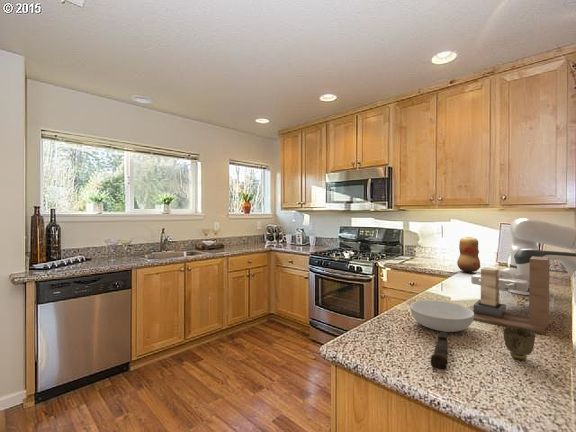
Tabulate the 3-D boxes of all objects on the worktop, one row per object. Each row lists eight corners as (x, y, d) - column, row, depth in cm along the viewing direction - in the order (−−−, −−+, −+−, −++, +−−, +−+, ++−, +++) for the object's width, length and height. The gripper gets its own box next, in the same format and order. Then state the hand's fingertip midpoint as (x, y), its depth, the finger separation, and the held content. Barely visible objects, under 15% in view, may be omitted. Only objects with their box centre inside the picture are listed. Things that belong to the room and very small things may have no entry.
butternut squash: (456, 273, 210) (456, 237, 210) (457, 269, 221) (457, 235, 221) (480, 275, 203) (480, 238, 202) (480, 271, 214) (480, 236, 214)
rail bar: (484, 310, 126) (484, 267, 126) (498, 313, 122) (499, 269, 122) (480, 313, 123) (480, 268, 123) (495, 316, 119) (495, 270, 119)
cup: (496, 352, 90) (496, 326, 90) (519, 351, 91) (519, 325, 91) (517, 365, 83) (517, 336, 83) (542, 364, 83) (542, 335, 83)
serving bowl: (398, 323, 114) (398, 305, 114) (431, 314, 125) (431, 297, 125) (452, 344, 96) (452, 322, 96) (486, 330, 107) (486, 311, 107)
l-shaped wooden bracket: (470, 308, 132) (471, 251, 132) (549, 323, 114) (549, 257, 114) (460, 317, 121) (460, 254, 121) (545, 335, 103) (546, 262, 103)
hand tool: (447, 372, 79) (447, 354, 79) (430, 368, 82) (430, 351, 82) (453, 346, 95) (453, 331, 95) (439, 343, 97) (439, 328, 97)
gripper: (533, 291, 126) (524, 297, 117) (478, 283, 142) (466, 288, 133) (532, 276, 126) (524, 281, 117) (477, 270, 142) (466, 274, 133)
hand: (493, 285), depth 125 cm, fingers open, 8 cm apart
